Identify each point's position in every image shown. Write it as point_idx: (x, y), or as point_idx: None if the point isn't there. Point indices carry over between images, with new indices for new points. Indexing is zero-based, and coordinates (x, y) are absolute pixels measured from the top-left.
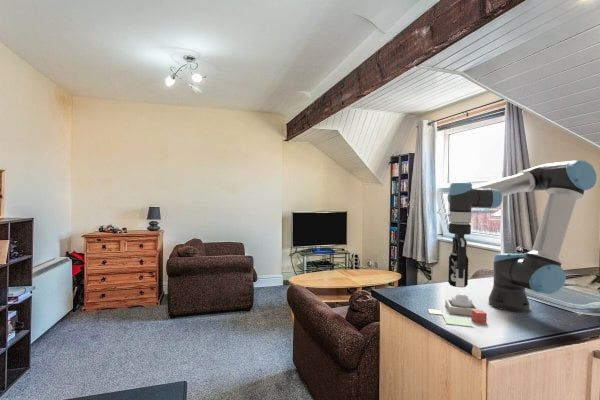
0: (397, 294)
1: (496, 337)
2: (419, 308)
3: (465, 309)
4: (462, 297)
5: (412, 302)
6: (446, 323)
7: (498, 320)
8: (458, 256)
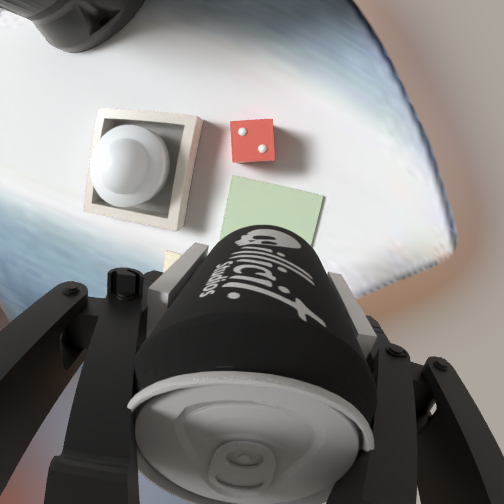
0: None
1: (397, 161)
2: None
3: (187, 170)
4: (136, 171)
5: None
6: None
7: (237, 69)
8: (429, 485)
